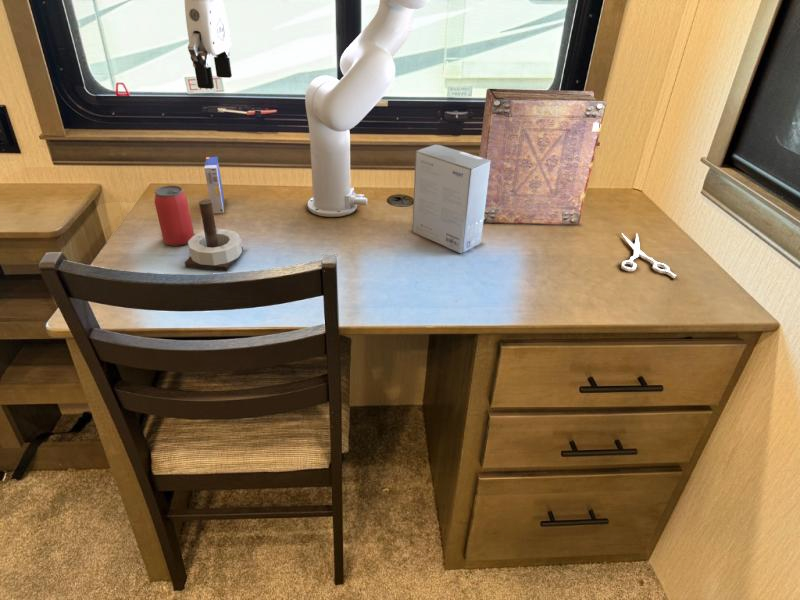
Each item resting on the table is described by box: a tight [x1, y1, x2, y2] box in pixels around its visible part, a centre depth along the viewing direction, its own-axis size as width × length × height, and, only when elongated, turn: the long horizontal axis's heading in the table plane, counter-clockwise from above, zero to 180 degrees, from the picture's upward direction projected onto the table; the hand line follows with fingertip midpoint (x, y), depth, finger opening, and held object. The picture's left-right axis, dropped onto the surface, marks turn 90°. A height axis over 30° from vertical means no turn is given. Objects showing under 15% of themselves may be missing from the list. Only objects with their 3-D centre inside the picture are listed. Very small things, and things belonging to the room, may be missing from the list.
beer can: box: [154, 185, 195, 247], centre depth 122 cm, size 7×7×12 cm
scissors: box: [620, 232, 677, 279], centre depth 127 cm, size 11×1×20 cm
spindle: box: [184, 199, 244, 272], centre depth 115 cm, size 9×9×13 cm
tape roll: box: [187, 228, 243, 265], centre depth 118 cm, size 10×10×3 cm
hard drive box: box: [411, 143, 491, 254], centre depth 125 cm, size 16×8×20 cm, turn 47°
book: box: [478, 88, 607, 226], centre depth 133 cm, size 25×9×30 cm, turn 91°
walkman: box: [203, 156, 225, 214], centre depth 137 cm, size 8×3×12 cm, turn 13°
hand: (215, 82), depth 116 cm, fingers open, 9 cm apart
